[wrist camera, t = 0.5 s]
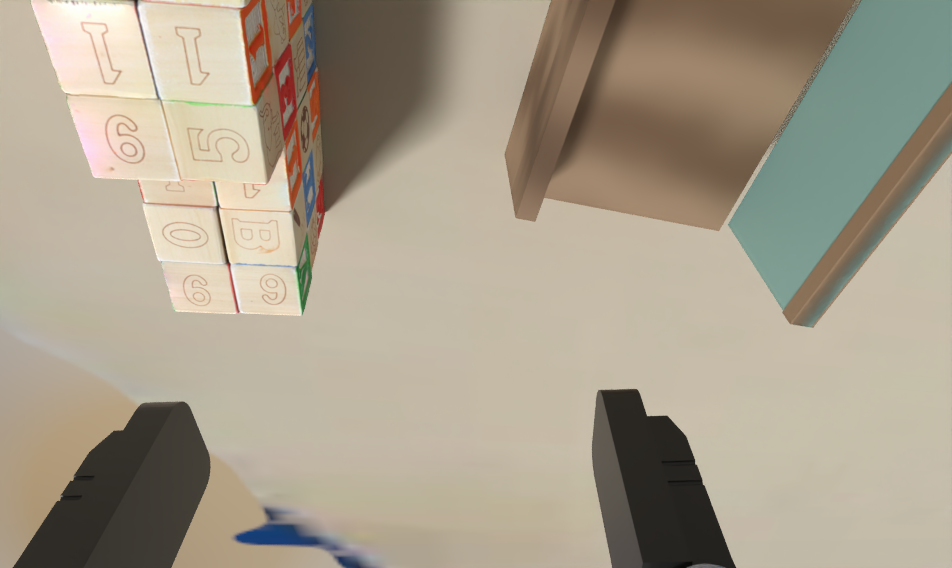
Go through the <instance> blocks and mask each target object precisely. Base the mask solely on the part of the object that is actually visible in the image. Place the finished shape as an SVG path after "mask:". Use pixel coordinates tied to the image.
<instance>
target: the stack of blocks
mask: <svg viewBox="0 0 952 568" xmlns="http://www.w3.org/2000/svg"><path fill="white" fill-rule="evenodd" d="M31 6H32V8H33V11H34V14H35V18H36V21H37V23H38V26H39V28H40V31H41V34H42V37H43V40H44V43H45V46H46V49H47V51H48V54H49V56H50V59H51V62H52V65H53V68H54V71H55V74H56V77H57V79H58V82H59V85H60V87H61V89H62V90H63V91H64V92H65V93H66V94H67V104H68V107H69V110H70V113H71V116H72V119H73V121H74V124H75V127H76V130H77V133H78V136H79V139H80V141H81V144H82V147H83V150H84V153H85V156H86V158H87V161H88V164H89V166H90V169H91V173H92V175H93V176H94V178H113V179H135V180H138V184H139V187H140V191H141V195H142V198H143V201H144V202H143V209H144V213H145V216H146V220H147V223H148V227H149V231H150V234H151V238H152V241H153V245H154V248H155V252H156V256H157V259H158V260H159V261H161V264H162V269H163V273H164V277H165V281H166V284H167V288H168V292H169V295H170V299H171V302H172V306H173V309H174V311H179V312H202V313H223V314H237V313H239V312H241V313H249V314H276V315H299V316H301V315H302V314H303V312H304V309H305V305H306V300H307V296H308V293H309V288H310V284H311V279H312V273H311V271H312V267H313V263H314V259H315V255H316V251H317V247H318V238H319V235H320V232H321V229H322V224H323V219H324V215H325V210H324V197H323V182H322V171H323V156H322V139H321V124H320V98H319V80H318V67H317V66H316V51H315V34H314V13H313V4H312V0H31Z"/></svg>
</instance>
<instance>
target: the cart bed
mask: <svg viewBox="0 0 952 568" xmlns="http://www.w3.org/2000/svg"><path fill="white" fill-rule="evenodd" d="M854 1H855V0H551V3H550V6H549V10H548V13H547V16H546V20H545V23H544V26H543V30H542V33H541V36H540V40H539V43H538V46H537V49H536V53H535V56H534V59H533V63H532V66H531V69H530V73H529V76H528V79H527V83H526V86H525V89H524V93H523V96H522V99H521V102H520V106H519V109H518V112H517V116H516V119H515V122H514V126H513V129H512V132H511V136H510V139H509V142H508V146H507V149H506V152H505V159H506V165H507V171H508V176H509V182H510V188H511V194H512V199H513V205H514V211H515V217H516V218H518V219H524V220H529V221H536V218H537V215H538V213H539V210H540V207H541V204H542V202H543V199H544V198H549V199H554V200H559V201H564V202H570V203H575V204H580V205H585V206H590V207H596V208H601V209H606V210H611V211H617V212H622V213H627V214H632V215H638V216H643V217H648V218H653V219H658V220H664V221H669V222H674V223H679V224H685V225H690V226H695V227H700V228H706V229H711V230H716V231H719V230H720V228H721V227H722V225H723V223H724V221H725V220H726V218H727V216H728V215H729V213H730V211H731V210H732V208H733V206H734V204H735V203H736V201H737V199H738V198H739V196H740V194H741V193H742V191H743V189H744V187H745V186H746V184H747V182H748V181H749V179H750V177H751V176H752V174H753V172H754V171H755V169H756V167H757V165H758V164H759V162H760V160H761V159H762V157H763V155H764V154H765V152H766V150H767V148H768V147H769V145H770V143H771V142H772V140H773V138H774V137H775V135H776V133H777V131H778V130H779V128H780V126H781V125H782V123H783V121H784V120H785V118H786V116H787V115H788V113H789V111H790V109H791V108H792V106H793V104H794V103H795V101H796V99H797V98H798V96H799V94H800V92H801V91H802V89H803V87H804V86H805V84H806V82H807V81H808V79H809V77H810V75H811V74H812V72H813V70H814V69H815V67H816V65H817V64H818V62H819V60H820V59H821V57H822V55H823V53H824V52H825V50H826V48H827V47H828V45H829V43H830V42H831V40H832V38H833V36H834V35H835V33H836V31H837V30H838V28H839V26H840V25H841V23H842V21H843V19H844V18H845V16H846V14H847V13H848V11H849V9H850V8H851V6H852V4H853V3H854Z"/></svg>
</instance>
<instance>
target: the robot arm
mask: <svg viewBox="0 0 952 568" xmlns="http://www.w3.org/2000/svg"><path fill="white" fill-rule="evenodd" d="M592 460H593V470H594V477H595V482H596V487H597V492H598V497H599V502H600V507H601V512H602V517H603V523H604V528H605V533H606V538H607V543H608V548H609V553H610V558H611V563H612V568H736V567H735V564H734V562H733V560H732V558H731V555H730V552H729V550H728V547H727V544H726V542H725V539H724V536H723V534H722V531H721V528H720V526H719V523H718V520H717V518H716V515H715V512H714V510H713V507H712V504H711V502H710V499H709V496H708V494H707V491H706V488H705V486H704V485H703V483H702V478H701V475H700V472H699V469H698V467H697V465H695V459H694V456H693V453H692V451H691V448H690V445H689V443H688V440H687V437H686V436H685V435H684V433H683V432H682V431H681V430H680V429H679V428H678V427H677V426H676V425H675V424H674V423H673V421H672V420H671V419H670V418H669V417H668V416H647V415H646V412H645V409H644V405H643V402H642V399H641V396H640V393H639V391H638V390H637V389H620V390H598V392H597V397H596V408H595V419H594V430H593V441H592ZM209 476H210V457H209V453H208V450H207V448H206V445H205V443H204V441H203V438H202V436H201V433H200V431H199V428H198V426H197V423H196V421H195V419H194V416H193V414H192V411H191V409H190V407H189V405H188V404H187V403H185V402H153V403H143V404H141V405H140V406H139V407H138V408H137V410H136V411H135V412H134V414H133V416H132V417H131V419H130V420H129V422H128V424H127V425H126V427H125V428H124V430H123V431H113V432H112V433H111V434H110V435H109V436H108V437H106V438H105V439H104V440H103V441H102V442H101V443H99V444H98V445H97V446H96V447H95V448H94V449H93V450H91V451H90V452H89V454H88V455H87V457H86V458H85V460H84V461H83V463H82V464H81V466H80V467H79V469H78V470H77V472H76V474H75V475H74V480H73V481H70V482H69V484H68V485H67V487H66V488H65V490H64V491H63V493H62V494H61V499H60V501H57V502H56V504H55V505H54V507H53V508H52V510H51V511H50V513H49V514H48V516H47V517H46V519H45V520H44V522H43V523H42V525H41V526H40V528H39V529H38V531H37V532H36V534H35V535H34V537H33V538H32V540H31V541H30V543H29V544H28V546H27V547H26V549H25V550H24V552H23V553H22V555H21V557H20V558H19V560H18V561H17V562H16V564H15V565H14V567H13V568H171V567H172V565H173V562H174V560H175V558H176V555H177V553H178V551H179V549H180V546H181V544H182V542H183V539H184V537H185V535H186V532H187V530H188V528H189V526H190V523H191V521H192V519H193V517H194V514H195V512H196V510H197V507H198V505H199V502H200V500H201V498H202V496H203V494H204V491H205V489H206V486H207V484H208V480H209Z"/></svg>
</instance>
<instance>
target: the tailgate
mask: <svg viewBox="0 0 952 568" xmlns="http://www.w3.org/2000/svg"><path fill="white" fill-rule="evenodd" d="M951 154H952V0H862V1H861V2H860V4H859V6H858V7H857V9H856V11H855V12H854V14H853V16H852V17H851V19H850V21H849V22H848V24H847V26H846V28H845V29H844V31H843V33H842V34H841V36H840V38H839V39H838V41H837V43H836V44H835V46H834V48H833V49H832V51H831V53H830V54H829V56H828V58H827V59H826V61H825V63H824V64H823V66H822V68H821V69H820V71H819V73H818V75H817V76H816V78H815V80H814V81H813V83H812V85H811V86H810V88H809V90H808V91H807V93H806V95H805V96H804V98H803V100H802V101H801V103H800V105H799V106H798V108H797V110H796V111H795V113H794V115H793V116H792V118H791V120H790V122H789V123H788V125H787V127H786V128H785V130H784V132H783V133H782V135H781V137H780V138H779V140H778V142H777V143H776V145H775V147H774V148H773V150H772V152H771V153H770V155H769V157H768V158H767V160H766V162H765V163H764V165H763V167H762V168H761V170H760V172H759V174H758V175H757V177H756V179H755V180H754V182H753V184H752V185H751V187H750V189H749V190H748V192H747V194H746V195H745V197H744V199H743V200H742V202H741V204H740V205H739V207H738V209H737V210H736V212H735V214H734V215H733V217H732V219H731V221H730V222H729V224H728V225H729V227H730V228H731V230H732V232H733V233H734V235H735V236H736V238H737V239H738V241H739V243H740V244H741V246H742V247H743V249H744V250H745V252H746V253H747V255H748V257H749V258H750V260H751V261H752V263H753V264H754V266H755V268H756V269H757V271H758V272H759V274H760V275H761V277H762V278H763V280H764V282H765V283H766V285H767V286H768V288H769V289H770V291H771V293H772V294H773V296H774V297H775V299H776V300H777V302H778V303H779V305H780V307H781V308H782V310H783V314H784V316H785V317H786V319H787V320H788V322H789V323H790V324H793V325H800V326H806V327H812V328H813V327H814V326H815V325H816V323H817V322H818V321H819V320H820V318H821V317H822V316H823V314H824V313H825V312H826V311H827V309H828V308H829V307H830V306H831V304H832V303H833V302H834V301H835V299H836V298H837V297H838V296H839V294H840V293H841V292H842V291H843V289H844V288H845V287H846V286H847V284H848V283H849V282H850V281H851V279H852V278H853V277H854V276H855V274H856V273H857V272H858V271H859V269H860V268H861V267H862V266H863V264H864V263H865V262H866V261H867V259H868V258H869V257H870V256H871V254H872V253H873V252H874V250H875V249H876V248H877V247H878V245H879V244H880V243H881V242H882V240H883V239H884V238H885V237H886V235H887V234H888V233H889V232H890V230H891V229H892V228H893V227H894V225H895V224H896V223H897V222H898V220H899V219H900V218H901V217H902V215H903V214H904V213H905V212H906V210H907V209H908V208H909V207H910V205H911V204H912V203H913V202H914V200H915V199H916V198H917V197H918V195H919V194H920V193H921V192H922V190H923V189H924V188H925V186H926V185H927V184H928V183H929V181H930V180H931V179H932V178H933V176H934V175H935V174H936V173H937V171H938V170H939V169H940V168H941V166H942V165H943V164H944V163H945V161H946V160H947V159H948V158H949V156H950V155H951Z"/></svg>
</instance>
